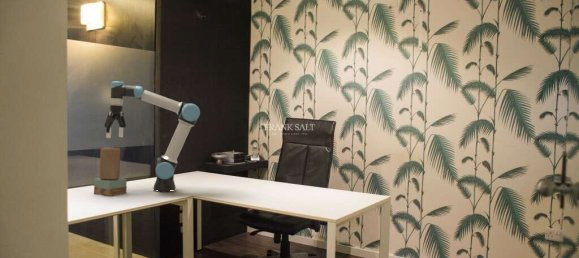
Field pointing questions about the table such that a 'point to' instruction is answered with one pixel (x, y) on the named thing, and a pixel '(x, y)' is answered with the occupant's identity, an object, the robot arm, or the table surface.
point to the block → (110, 163)
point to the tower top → (110, 183)
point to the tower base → (110, 191)
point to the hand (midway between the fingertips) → (114, 137)
